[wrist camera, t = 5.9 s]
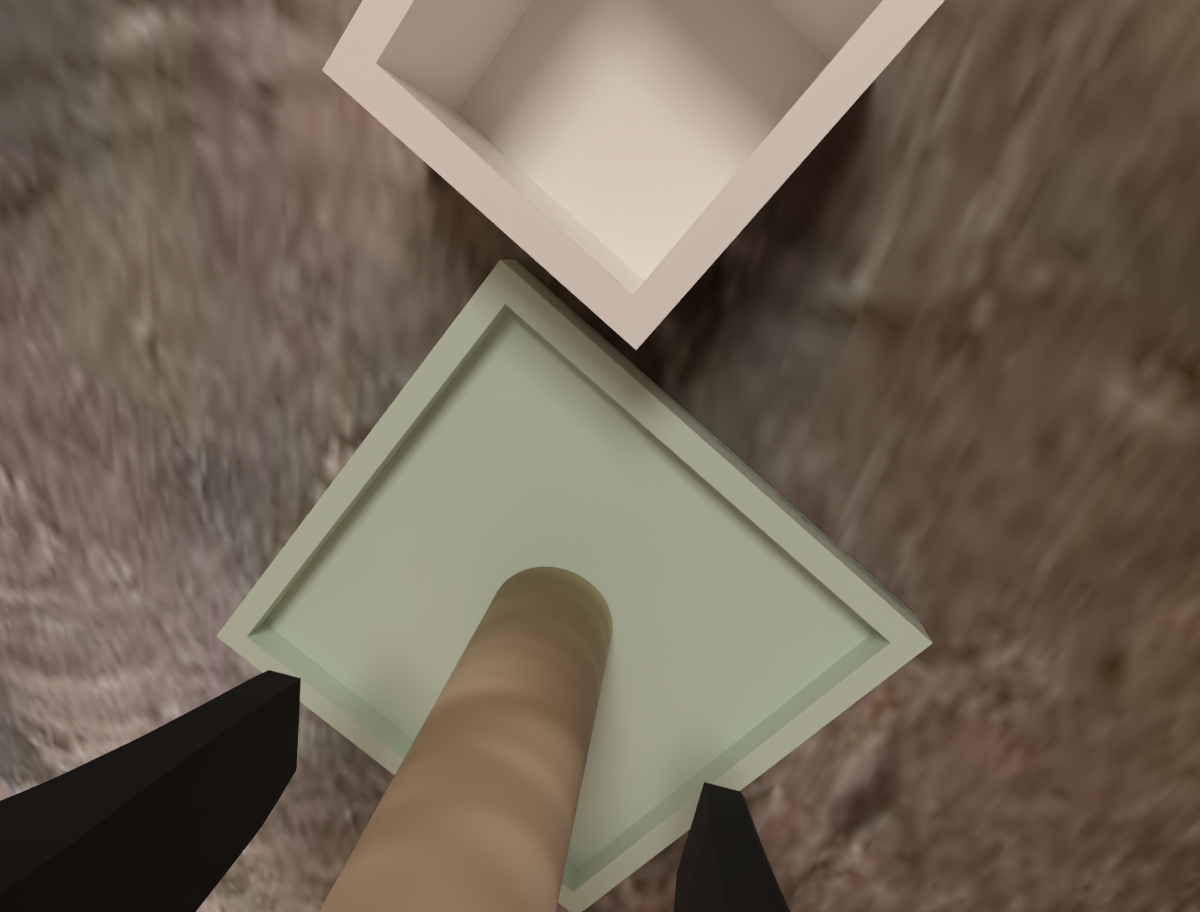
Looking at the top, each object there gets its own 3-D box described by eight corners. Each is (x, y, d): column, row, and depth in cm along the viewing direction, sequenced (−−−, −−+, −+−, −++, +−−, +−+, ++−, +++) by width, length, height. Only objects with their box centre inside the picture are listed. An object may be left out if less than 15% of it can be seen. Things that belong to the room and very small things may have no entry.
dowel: (621, 580, 15) (535, 997, 7) (602, 686, 16) (506, 1167, 8) (497, 555, 16) (265, 929, 7) (485, 661, 17) (268, 1102, 8)
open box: (876, 68, 12) (958, -17, 8) (651, 324, 14) (635, 350, 10) (625, -180, 12) (590, -390, 8) (427, 122, 14) (322, 69, 10)
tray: (914, 613, 15) (932, 643, 14) (582, 877, 19) (575, 916, 18) (516, 259, 14) (500, 259, 13) (247, 611, 18) (216, 636, 17)
